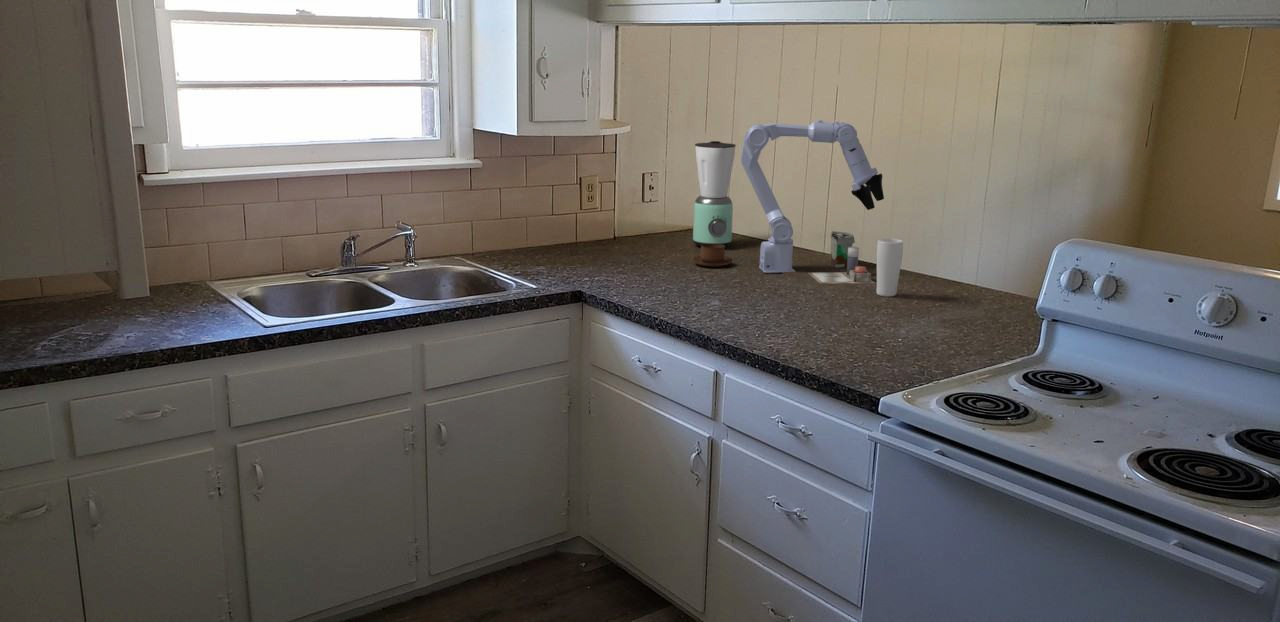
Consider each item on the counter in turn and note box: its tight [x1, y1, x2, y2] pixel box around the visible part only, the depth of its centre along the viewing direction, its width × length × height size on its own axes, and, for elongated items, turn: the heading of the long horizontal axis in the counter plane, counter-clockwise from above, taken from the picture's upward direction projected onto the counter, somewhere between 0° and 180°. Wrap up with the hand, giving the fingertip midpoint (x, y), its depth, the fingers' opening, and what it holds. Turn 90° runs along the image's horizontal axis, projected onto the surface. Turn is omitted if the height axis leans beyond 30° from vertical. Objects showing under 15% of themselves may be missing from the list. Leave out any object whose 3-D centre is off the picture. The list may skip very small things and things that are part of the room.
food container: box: [829, 230, 856, 269], centre depth 302 cm, size 12×6×10 cm, turn 179°
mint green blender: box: [692, 140, 737, 249], centre depth 329 cm, size 19×13×35 cm
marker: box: [846, 246, 860, 275], centre depth 288 cm, size 3×3×8 cm
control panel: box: [807, 270, 876, 285], centre depth 285 cm, size 16×14×3 cm
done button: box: [855, 265, 867, 273], centre depth 281 cm, size 3×3×2 cm
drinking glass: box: [875, 238, 904, 298], centre depth 265 cm, size 7×7×15 cm
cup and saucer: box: [692, 244, 733, 268], centre depth 302 cm, size 12×12×6 cm
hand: (876, 204), depth 288 cm, fingers open, 7 cm apart
